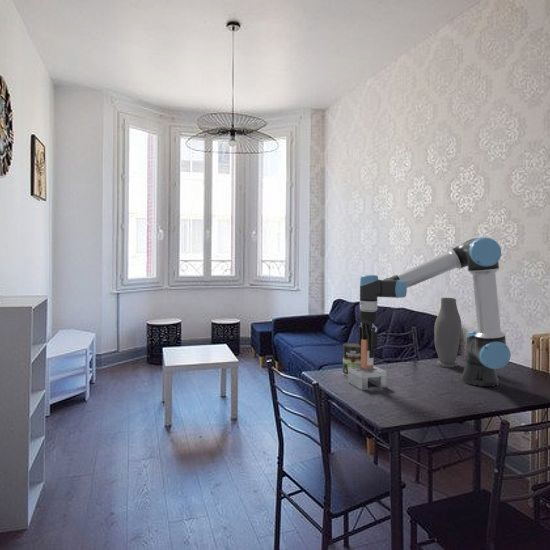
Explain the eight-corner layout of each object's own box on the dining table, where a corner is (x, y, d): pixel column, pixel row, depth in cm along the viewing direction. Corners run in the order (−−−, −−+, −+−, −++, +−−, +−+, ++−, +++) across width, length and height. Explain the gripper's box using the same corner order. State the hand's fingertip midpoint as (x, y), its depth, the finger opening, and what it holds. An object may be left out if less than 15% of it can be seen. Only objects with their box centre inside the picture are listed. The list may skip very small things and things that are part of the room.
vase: (442, 360, 238) (443, 296, 236) (465, 365, 228) (467, 298, 226) (429, 365, 229) (430, 298, 227) (452, 370, 219) (454, 300, 217)
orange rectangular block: (368, 365, 195) (369, 339, 195) (373, 368, 191) (374, 340, 191) (360, 366, 194) (361, 339, 193) (365, 368, 190) (366, 341, 189)
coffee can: (363, 377, 204) (364, 347, 203) (341, 376, 206) (342, 346, 205) (364, 372, 214) (365, 343, 213) (343, 370, 216) (343, 342, 215)
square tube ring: (371, 379, 201) (371, 364, 200) (386, 387, 189) (386, 371, 189) (347, 382, 197) (348, 366, 196) (361, 389, 185) (362, 373, 185)
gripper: (350, 308, 198) (349, 359, 199) (371, 313, 182) (370, 369, 183) (365, 307, 201) (364, 358, 202) (387, 312, 185) (385, 367, 186)
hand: (367, 363), depth 192 cm, fingers closed on orange rectangular block, 4 cm apart
